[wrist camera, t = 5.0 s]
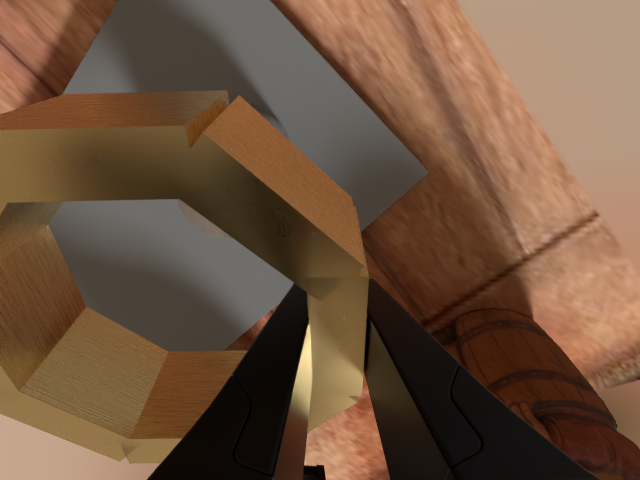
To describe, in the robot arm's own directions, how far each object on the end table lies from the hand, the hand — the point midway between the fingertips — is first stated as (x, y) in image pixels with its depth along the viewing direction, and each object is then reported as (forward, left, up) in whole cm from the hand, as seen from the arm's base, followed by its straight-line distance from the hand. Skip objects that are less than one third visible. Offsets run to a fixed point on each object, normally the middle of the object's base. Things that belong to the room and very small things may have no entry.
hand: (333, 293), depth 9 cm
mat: (-4, +8, -13) cm, 16 cm away
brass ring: (0, +4, -1) cm, 4 cm away
